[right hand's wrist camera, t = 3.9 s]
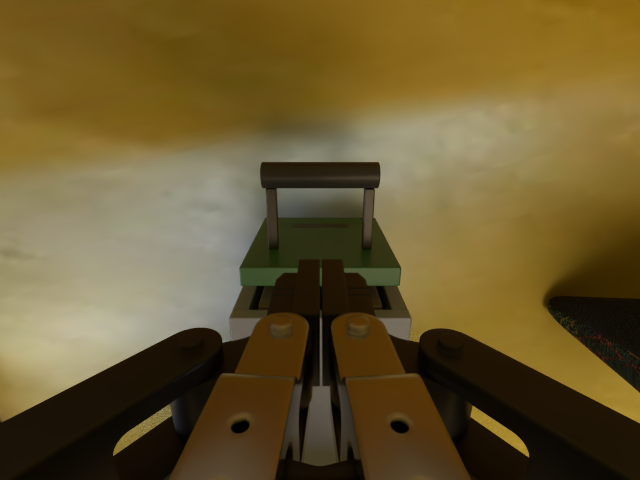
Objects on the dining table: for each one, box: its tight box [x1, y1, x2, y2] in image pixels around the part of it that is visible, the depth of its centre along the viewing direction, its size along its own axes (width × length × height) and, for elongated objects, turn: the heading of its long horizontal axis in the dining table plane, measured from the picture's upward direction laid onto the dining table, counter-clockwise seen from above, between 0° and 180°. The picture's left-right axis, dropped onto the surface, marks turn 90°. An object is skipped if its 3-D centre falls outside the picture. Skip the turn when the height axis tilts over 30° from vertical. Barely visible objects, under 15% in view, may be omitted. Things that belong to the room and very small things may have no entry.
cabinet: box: [229, 286, 411, 466], centre depth 28 cm, size 17×10×12 cm, turn 0°
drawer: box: [239, 162, 401, 310], centre depth 26 cm, size 21×9×10 cm, turn 0°
